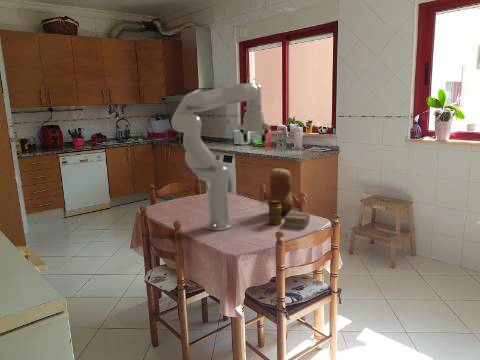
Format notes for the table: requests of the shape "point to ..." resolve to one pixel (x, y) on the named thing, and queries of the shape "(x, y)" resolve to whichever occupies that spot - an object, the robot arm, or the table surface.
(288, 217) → the beige square block
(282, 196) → the butternut squash
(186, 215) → the table surface
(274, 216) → the condiment
